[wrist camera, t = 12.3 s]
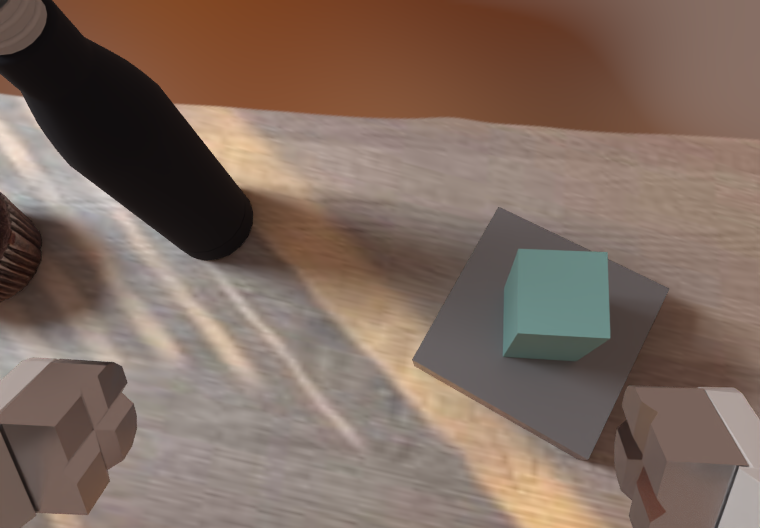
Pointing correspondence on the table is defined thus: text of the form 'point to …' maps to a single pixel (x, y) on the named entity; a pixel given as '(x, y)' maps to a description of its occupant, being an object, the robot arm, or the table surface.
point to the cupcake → (16, 249)
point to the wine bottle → (121, 131)
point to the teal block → (556, 304)
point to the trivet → (525, 375)
